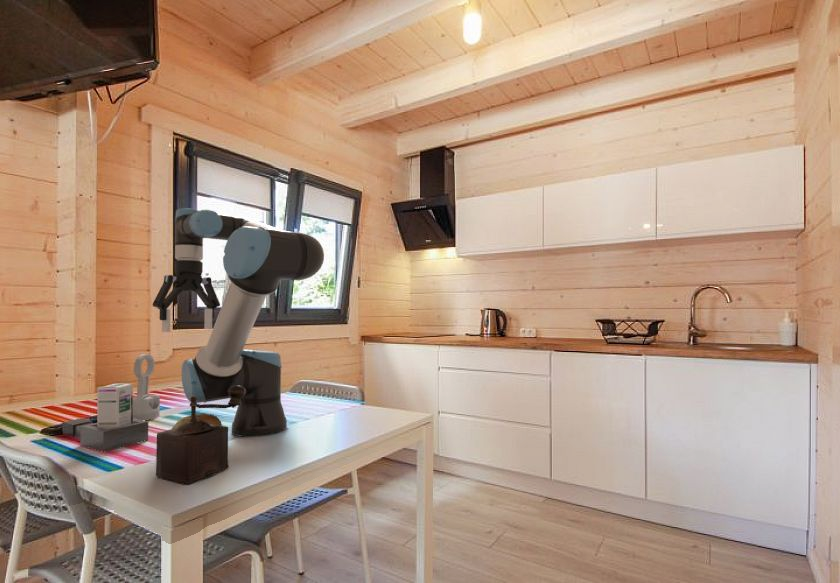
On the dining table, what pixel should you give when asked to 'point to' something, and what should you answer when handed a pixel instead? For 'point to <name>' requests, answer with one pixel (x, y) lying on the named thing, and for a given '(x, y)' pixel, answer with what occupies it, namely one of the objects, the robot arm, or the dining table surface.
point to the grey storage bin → (106, 434)
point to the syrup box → (115, 405)
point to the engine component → (145, 391)
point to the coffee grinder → (195, 445)
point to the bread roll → (205, 417)
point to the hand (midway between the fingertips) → (188, 330)
